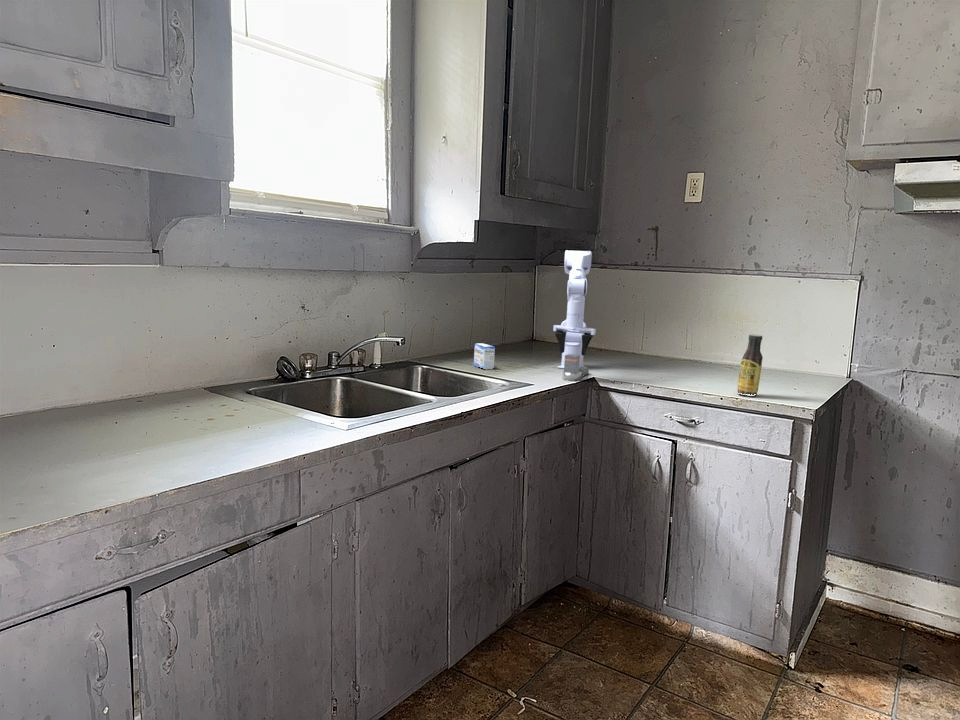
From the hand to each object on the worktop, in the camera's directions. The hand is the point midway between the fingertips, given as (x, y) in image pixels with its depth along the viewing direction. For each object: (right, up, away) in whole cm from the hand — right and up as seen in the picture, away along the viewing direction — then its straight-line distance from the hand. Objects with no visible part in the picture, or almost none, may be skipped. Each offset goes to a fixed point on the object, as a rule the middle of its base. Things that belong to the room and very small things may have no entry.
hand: (572, 353), depth 228 cm
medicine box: (-31, -5, +17) cm, 35 cm away
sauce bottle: (+55, -14, -13) cm, 58 cm away
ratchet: (+2, -8, +6) cm, 11 cm away
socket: (0, -6, +1) cm, 7 cm away
